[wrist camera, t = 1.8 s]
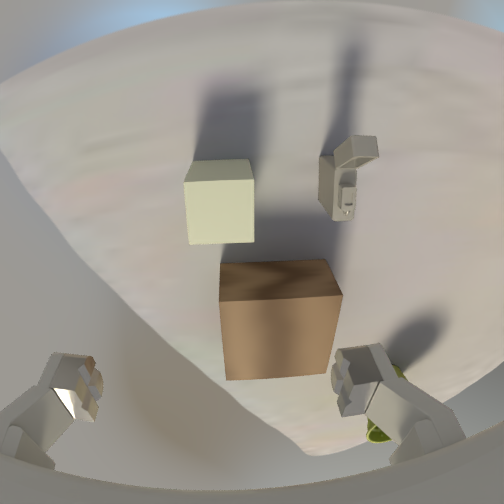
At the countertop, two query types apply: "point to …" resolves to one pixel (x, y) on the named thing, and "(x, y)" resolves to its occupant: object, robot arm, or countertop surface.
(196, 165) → the sage block
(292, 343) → the walnut block
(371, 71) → the countertop surface
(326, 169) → the lighter
